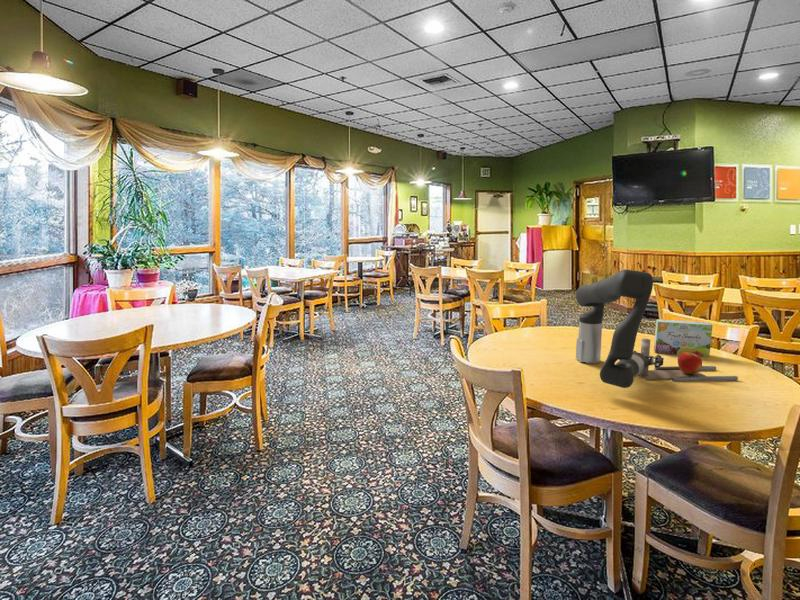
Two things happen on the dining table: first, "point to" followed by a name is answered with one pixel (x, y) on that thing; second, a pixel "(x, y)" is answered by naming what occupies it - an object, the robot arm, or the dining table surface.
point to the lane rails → (699, 378)
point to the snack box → (683, 337)
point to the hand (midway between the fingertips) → (646, 355)
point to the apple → (689, 363)
